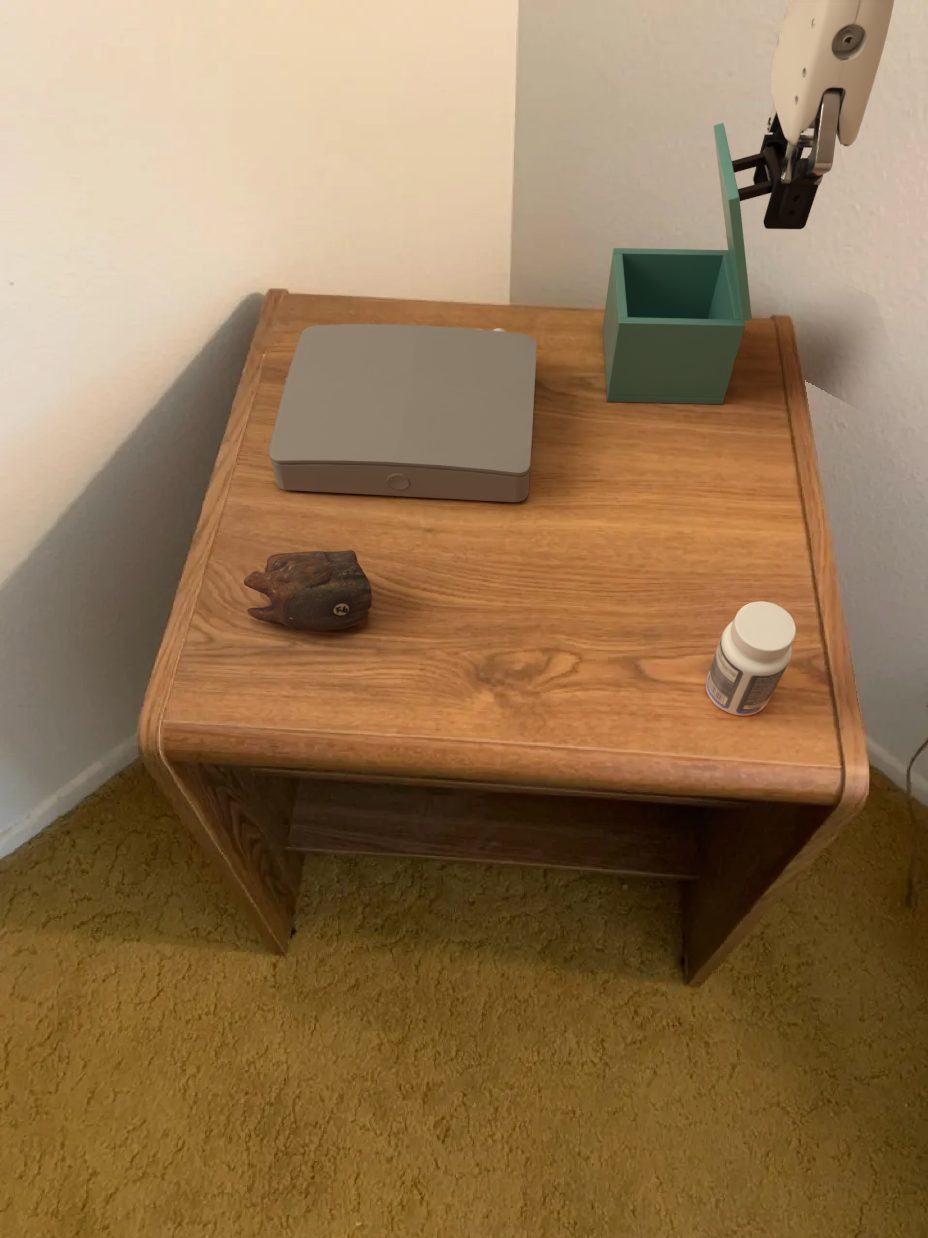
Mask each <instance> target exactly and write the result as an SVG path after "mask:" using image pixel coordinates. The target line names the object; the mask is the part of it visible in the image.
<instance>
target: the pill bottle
mask: <svg viewBox="0 0 928 1238" xmlns="http://www.w3.org/2000/svg"><path fill="white" fill-rule="evenodd" d="M796 633H797V626H796V623H795V621H794V618H793V616H792V614H790V613H789V612H788V611H787V610H786V609H785V608H783V607H782V606H780V605H778V604H776V603H773V602H770V601H763V600H761V601H760V600H759V601H752V602H749V603H746V604H745V605H743V606H742V607H741V608H740V609H739V610H738V611H737V612H736V615H735V616H734V619H733V620H732V621H731V622H730V623H729V624H728V625H726V627H725V628H724V630H723V631H722V634H721V637H720V640H719V642H718V645H717V647H716V650H715V652H714V655H713V658H712V661H711V663H710V666H709V669H708V672H707V673H706V678H705V691H706V693H707V696H708V698H709V699H710V700H711V702H712V703H713V704H714V706H716V707H717V708H719V709H720V710H722V711H724V712H726V713H728V714H731V715H734V716H743V717H745V716H752V715H755V714H757V713H759V712H760V711H762V710H763V709H764V708H765V707H766V706H767V705H768V703H770V700H771V698H772V696H773V694H774V692H775V691H776V688H777V686H778V684H779V682H780V681H781V679H782V677H783V674H784V673H785V671H786V669H787V667H788V665H789V663H790V661H791V660H792V659H791V658H792V656H793V655H792V654H793V643H794V640H795V637H796Z"/></svg>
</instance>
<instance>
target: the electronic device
mask: <svg viewBox="0 0 928 1238" xmlns="http://www.w3.org/2000/svg"><path fill="white" fill-rule="evenodd" d="M537 348H538V341H537V340H536V338H534V337H533V336H532V335H529V334H526V333H518V332H509V331H508V330H505V329H504V328H503V327H499V328H498V327H497V328H494V329H492V330H489V329H482V328H471V327H470V328H467V327H456V326H455V327H453V326H441V325H440V326H439V325H422V324H421V325H419V324H418V325H416V324H385V323H383V324H381V323H380V324H379V323H359V324H358V323H355V324H354V323H353V324H352V323H348V324H346V323H345V324H344V323H343V324H340V323H339V324H315V325H311V326H308V327H306V328H305V329H303V330H302V331H301V334H300V335H299V339H298V341H297V345H296V348H295V350H294V354H293V356H292V360H291V363H290V366H289V369H288V373H287V376H286V379H285V383H284V387H283V392H282V395H281V398H280V402H279V406H278V410H277V414H276V417H275V423H274V427H273V431H272V436H271V440H270V444H269V447H268V448H269V449H268V456H269V458H270V459H269V460H270V463H271V466H272V470H273V474H274V478H275V481H276V484H277V487H278V488H280V489H282V490H284V491H301V492H317V493H333V494H335V493H337V494H353V495H354V494H355V495H356V494H357V495H373V496H374V495H375V496H377V495H378V496H390V497H391V496H392V497H394V496H395V497H410V498H431V499H447V500H448V499H450V500H465V501H466V500H467V501H486V502H487V501H488V502H505V503H520V502H523V501H524V500H526V499H527V497H528V496H529V490H530V489H529V488H530V477H531V476H530V474H531V459H532V444H533V443H532V440H533V426H534V425H533V424H534V406H535V403H534V402H535V388H536V387H535V386H536V370H537Z"/></svg>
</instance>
